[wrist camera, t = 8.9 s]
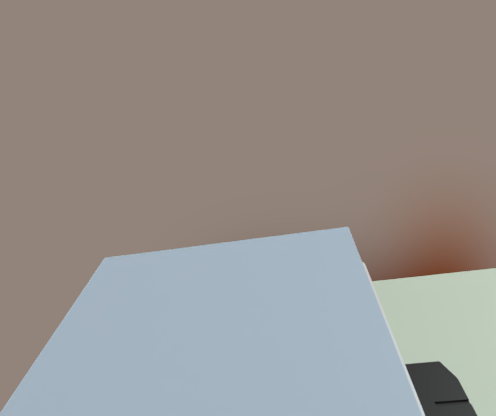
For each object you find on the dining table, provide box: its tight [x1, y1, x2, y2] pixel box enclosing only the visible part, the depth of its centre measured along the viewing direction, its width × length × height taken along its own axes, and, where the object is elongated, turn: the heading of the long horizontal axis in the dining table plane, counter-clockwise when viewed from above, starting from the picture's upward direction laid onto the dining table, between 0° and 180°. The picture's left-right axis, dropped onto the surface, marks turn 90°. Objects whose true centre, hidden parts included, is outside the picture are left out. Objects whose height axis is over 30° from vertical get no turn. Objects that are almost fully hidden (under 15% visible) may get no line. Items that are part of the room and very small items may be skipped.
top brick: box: [372, 268, 496, 416], centre depth 28 cm, size 14×14×4 cm
